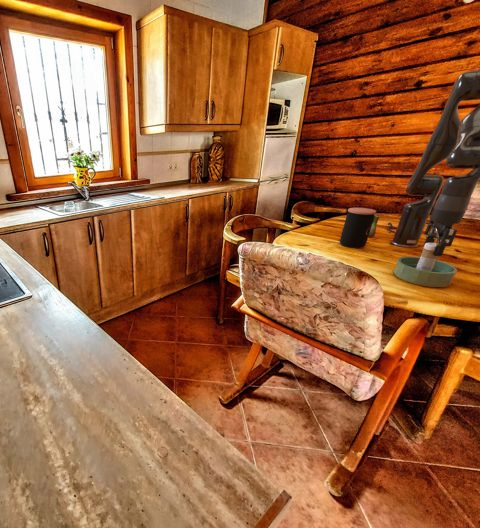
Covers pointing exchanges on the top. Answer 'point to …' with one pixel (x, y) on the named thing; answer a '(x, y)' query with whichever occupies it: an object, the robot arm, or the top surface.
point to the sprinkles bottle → (427, 258)
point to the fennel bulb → (373, 226)
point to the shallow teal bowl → (425, 273)
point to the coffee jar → (357, 227)
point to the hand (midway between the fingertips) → (431, 251)
